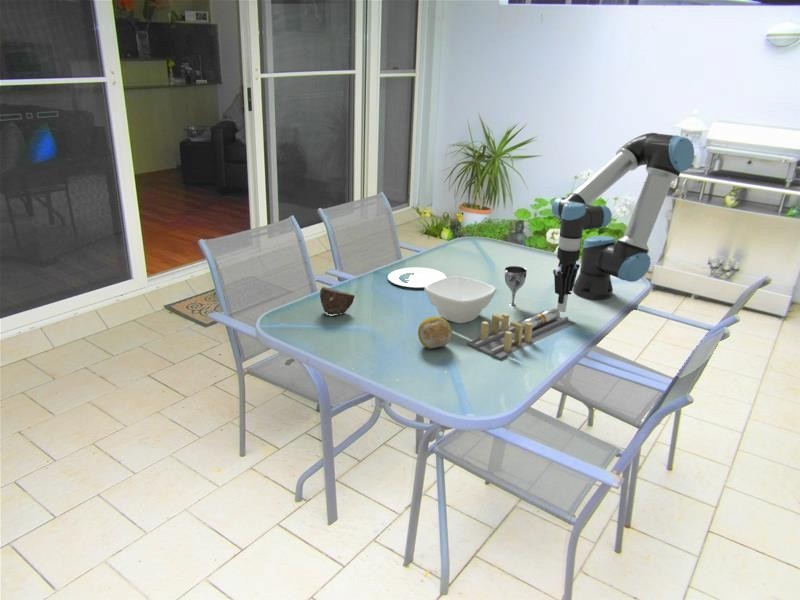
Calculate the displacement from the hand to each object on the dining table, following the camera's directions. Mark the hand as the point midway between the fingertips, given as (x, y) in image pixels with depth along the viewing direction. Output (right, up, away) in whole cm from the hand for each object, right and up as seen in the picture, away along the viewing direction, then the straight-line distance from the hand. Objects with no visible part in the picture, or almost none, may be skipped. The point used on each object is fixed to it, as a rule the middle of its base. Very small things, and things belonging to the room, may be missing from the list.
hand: (561, 310), depth 216 cm
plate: (-51, +12, +38) cm, 65 cm away
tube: (-10, -5, -7) cm, 13 cm away
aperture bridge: (-23, -10, -18) cm, 31 cm away
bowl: (-37, -3, +1) cm, 37 cm away
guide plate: (-16, -8, -12) cm, 22 cm away
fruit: (-47, -12, -21) cm, 53 cm away
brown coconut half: (-82, -1, +3) cm, 82 cm away
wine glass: (-16, +1, +11) cm, 19 cm away
